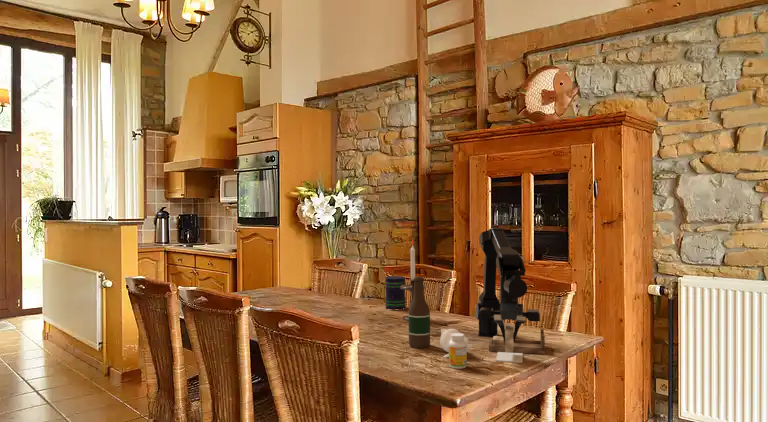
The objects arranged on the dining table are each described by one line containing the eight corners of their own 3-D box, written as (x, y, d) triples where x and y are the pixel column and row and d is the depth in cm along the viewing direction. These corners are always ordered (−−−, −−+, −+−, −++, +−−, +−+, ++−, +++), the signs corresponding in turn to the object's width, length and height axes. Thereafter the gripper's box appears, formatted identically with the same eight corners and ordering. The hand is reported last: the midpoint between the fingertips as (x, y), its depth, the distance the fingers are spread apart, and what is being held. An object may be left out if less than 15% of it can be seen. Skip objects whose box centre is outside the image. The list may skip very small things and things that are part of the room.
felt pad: (496, 361, 172) (496, 360, 172) (497, 353, 181) (497, 351, 181) (522, 362, 170) (522, 361, 170) (522, 354, 179) (522, 353, 179)
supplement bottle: (447, 364, 169) (447, 332, 169) (464, 363, 170) (464, 332, 170) (450, 369, 164) (450, 336, 164) (468, 368, 164) (468, 336, 164)
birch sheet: (505, 351, 172) (505, 329, 172) (506, 345, 180) (506, 324, 180) (513, 352, 172) (513, 329, 171) (513, 345, 179) (513, 324, 179)
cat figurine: (466, 328, 176) (448, 320, 187) (441, 349, 173) (424, 339, 184) (479, 350, 178) (460, 340, 189) (454, 370, 175) (437, 360, 186)
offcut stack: (492, 347, 185) (492, 340, 185) (493, 342, 192) (493, 335, 192) (503, 347, 184) (503, 340, 184) (504, 342, 191) (504, 335, 191)
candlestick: (409, 315, 245) (409, 237, 245) (430, 318, 239) (429, 238, 238) (395, 320, 236) (395, 238, 236) (417, 323, 230) (416, 239, 230)
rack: (488, 351, 184) (488, 333, 184) (490, 343, 194) (490, 326, 194) (544, 354, 180) (544, 335, 180) (543, 346, 189) (543, 329, 189)
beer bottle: (432, 343, 194) (432, 276, 194) (427, 349, 187) (426, 278, 187) (411, 342, 197) (411, 275, 197) (405, 347, 190) (404, 278, 189)
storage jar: (383, 310, 259) (383, 278, 259) (386, 306, 269) (386, 275, 269) (404, 310, 258) (404, 278, 258) (407, 306, 267) (406, 276, 267)
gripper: (477, 295, 170) (477, 345, 170) (540, 297, 165) (540, 349, 166) (480, 290, 181) (480, 337, 181) (539, 291, 176) (539, 340, 176)
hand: (509, 341), depth 176 cm, fingers closed on birch sheet, 2 cm apart
